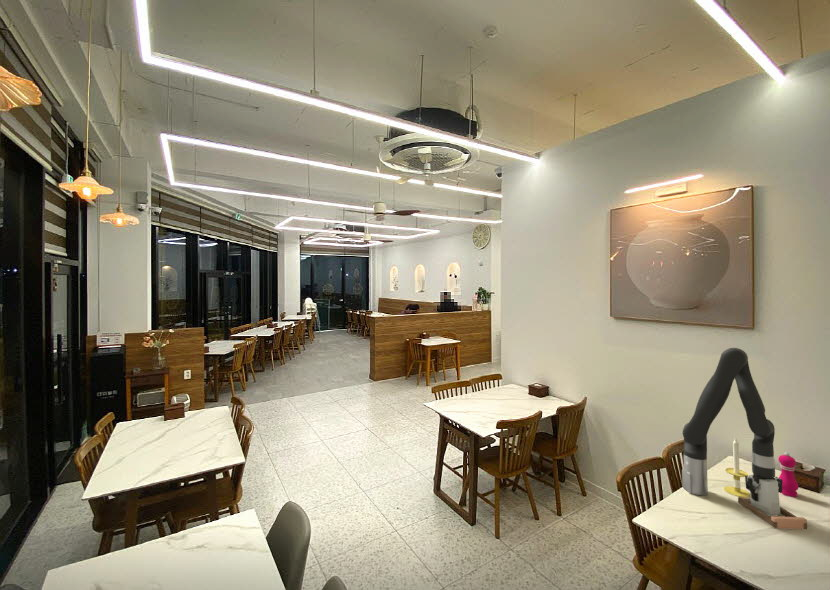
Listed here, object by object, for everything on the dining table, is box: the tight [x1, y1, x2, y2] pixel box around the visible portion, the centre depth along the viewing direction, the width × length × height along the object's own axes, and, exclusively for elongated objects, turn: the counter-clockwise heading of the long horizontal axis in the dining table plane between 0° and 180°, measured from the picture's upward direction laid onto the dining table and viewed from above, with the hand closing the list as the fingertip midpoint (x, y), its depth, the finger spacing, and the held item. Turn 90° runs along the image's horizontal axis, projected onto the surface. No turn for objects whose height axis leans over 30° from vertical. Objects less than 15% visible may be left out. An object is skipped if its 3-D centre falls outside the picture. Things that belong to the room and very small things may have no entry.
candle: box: [723, 437, 750, 498], centre depth 179 cm, size 10×10×27 cm
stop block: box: [770, 516, 808, 530], centre depth 151 cm, size 12×2×4 cm, turn 85°
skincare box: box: [748, 474, 781, 517], centre depth 163 cm, size 8×6×15 cm
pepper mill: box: [778, 452, 799, 498], centre depth 176 cm, size 7×7×20 cm
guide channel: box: [737, 496, 808, 530], centre depth 160 cm, size 12×19×2 cm, turn 175°
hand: (764, 500), depth 163 cm, fingers closed on skincare box, 7 cm apart
